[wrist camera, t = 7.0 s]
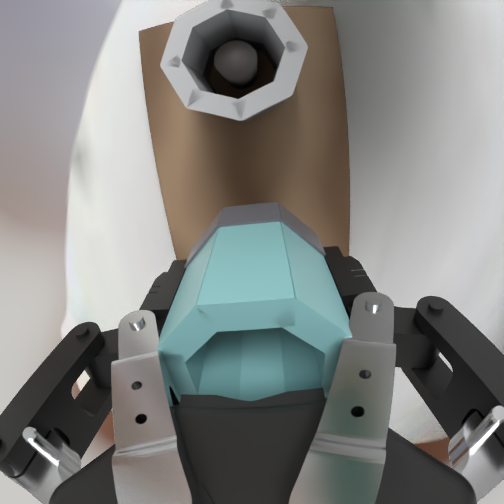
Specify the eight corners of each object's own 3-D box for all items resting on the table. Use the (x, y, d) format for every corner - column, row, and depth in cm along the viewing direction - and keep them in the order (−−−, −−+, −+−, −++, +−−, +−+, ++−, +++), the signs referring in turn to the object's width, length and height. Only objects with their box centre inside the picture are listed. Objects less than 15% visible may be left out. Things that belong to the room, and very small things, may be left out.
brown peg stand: (327, 14, 14) (356, -24, 8) (342, 259, 22) (369, 311, 16) (146, 36, 14) (101, 10, 9) (187, 273, 22) (165, 328, 17)
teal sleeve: (315, 198, 12) (368, 285, 6) (316, 304, 14) (344, 416, 8) (186, 211, 12) (129, 303, 6) (209, 313, 14) (186, 424, 9)
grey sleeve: (260, 20, 13) (261, -25, 7) (304, 93, 15) (331, 81, 9) (180, 62, 14) (139, 38, 8) (224, 133, 16) (205, 144, 10)
